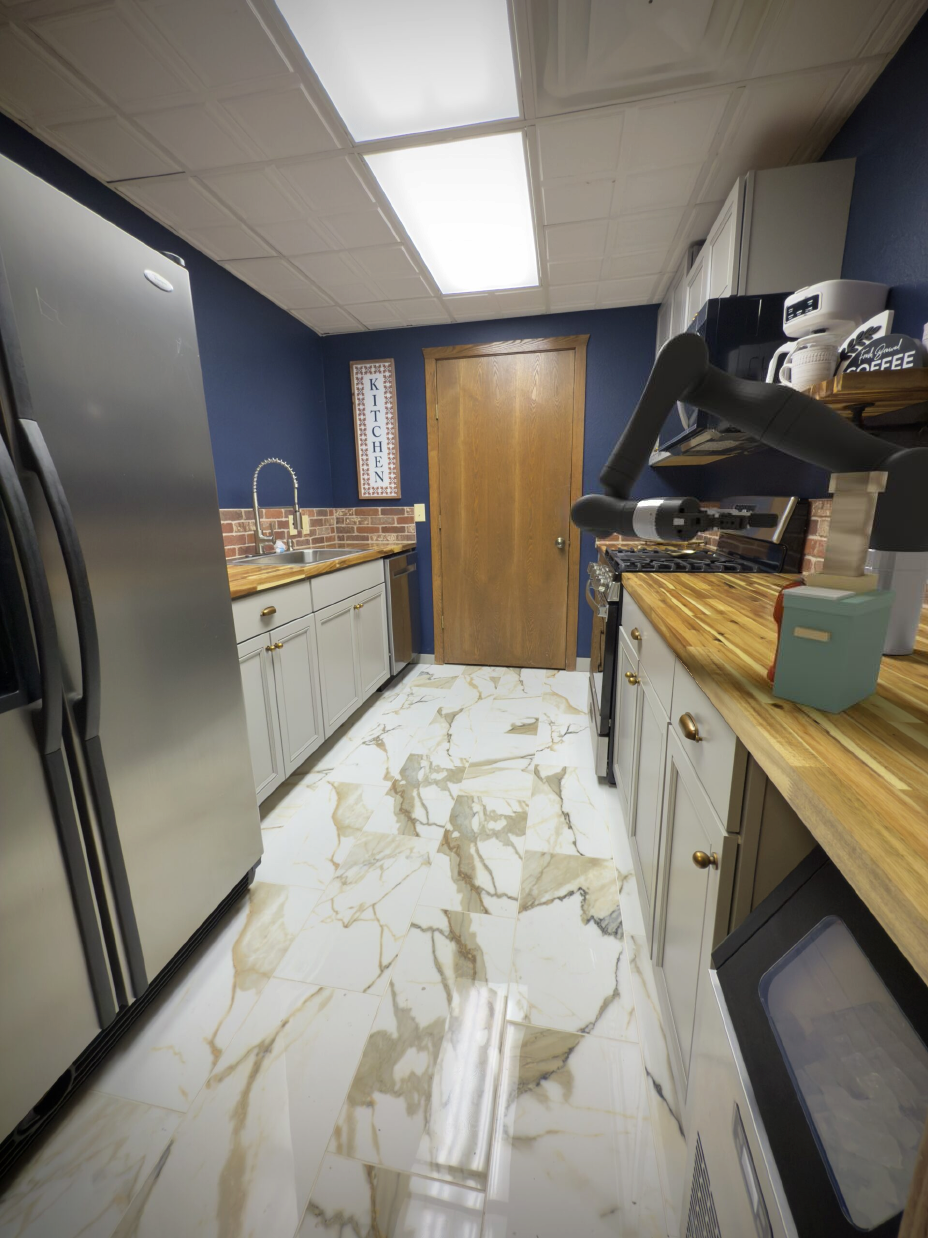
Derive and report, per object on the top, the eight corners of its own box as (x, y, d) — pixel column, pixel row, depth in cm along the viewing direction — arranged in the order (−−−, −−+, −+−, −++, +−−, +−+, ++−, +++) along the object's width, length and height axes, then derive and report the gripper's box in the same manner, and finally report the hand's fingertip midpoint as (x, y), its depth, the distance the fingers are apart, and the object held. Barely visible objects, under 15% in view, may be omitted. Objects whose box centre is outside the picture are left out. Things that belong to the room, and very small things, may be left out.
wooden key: (825, 585, 69) (843, 473, 65) (867, 589, 65) (888, 471, 61) (814, 587, 67) (831, 473, 63) (856, 592, 63) (876, 471, 60)
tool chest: (812, 675, 74) (828, 569, 70) (878, 691, 67) (901, 575, 63) (765, 695, 66) (781, 578, 63) (834, 716, 60) (857, 586, 56)
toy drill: (813, 649, 83) (821, 562, 78) (802, 696, 69) (811, 593, 65) (779, 645, 86) (785, 561, 81) (762, 690, 72) (768, 591, 68)
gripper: (641, 497, 82) (739, 496, 68) (692, 496, 89) (789, 495, 76) (638, 542, 83) (733, 550, 70) (688, 538, 91) (782, 544, 78)
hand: (762, 521), depth 73 cm, fingers open, 8 cm apart
